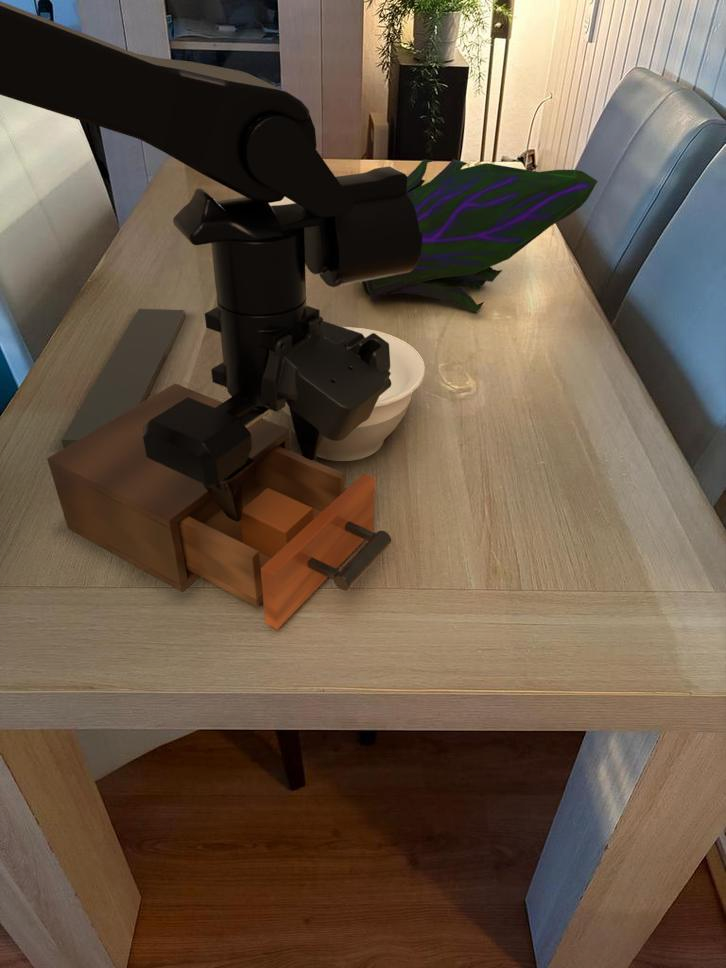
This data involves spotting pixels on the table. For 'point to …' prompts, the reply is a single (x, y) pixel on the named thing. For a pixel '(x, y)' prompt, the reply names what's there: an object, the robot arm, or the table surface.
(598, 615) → the table surface
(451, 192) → the decorative plant
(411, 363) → the bowl
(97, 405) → the board
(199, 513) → the drawer
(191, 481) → the cabinet
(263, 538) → the orange cube block
